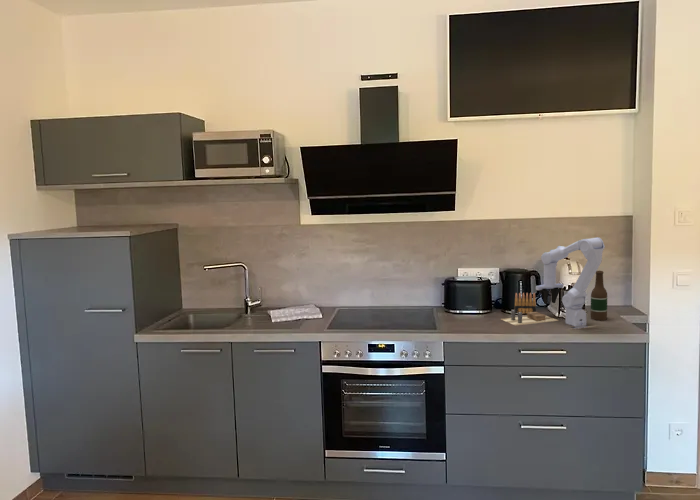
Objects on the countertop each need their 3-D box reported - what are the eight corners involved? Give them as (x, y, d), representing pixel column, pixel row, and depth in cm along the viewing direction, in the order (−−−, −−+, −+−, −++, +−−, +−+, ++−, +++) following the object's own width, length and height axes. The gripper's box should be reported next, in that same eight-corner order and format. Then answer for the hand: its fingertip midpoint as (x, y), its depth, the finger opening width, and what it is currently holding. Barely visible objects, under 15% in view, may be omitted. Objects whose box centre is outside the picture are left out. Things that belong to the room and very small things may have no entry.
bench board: (559, 322, 286) (559, 320, 286) (515, 327, 279) (515, 325, 279) (542, 316, 299) (542, 314, 299) (500, 321, 293) (500, 319, 293)
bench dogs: (522, 325, 284) (522, 312, 283) (519, 325, 283) (519, 313, 283) (513, 321, 291) (513, 309, 291) (510, 321, 291) (510, 309, 290)
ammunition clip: (535, 315, 303) (535, 292, 302) (536, 315, 301) (536, 292, 300) (514, 314, 305) (514, 292, 304) (514, 315, 303) (514, 292, 302)
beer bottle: (601, 321, 285) (602, 272, 282) (587, 318, 292) (587, 271, 289) (610, 318, 290) (611, 270, 287) (595, 316, 296) (596, 269, 293)
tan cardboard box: (545, 320, 287) (545, 315, 287) (536, 321, 286) (536, 316, 285) (536, 316, 295) (536, 311, 294) (527, 317, 293) (527, 312, 293)
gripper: (557, 273, 295) (557, 300, 297) (532, 276, 291) (532, 302, 293) (566, 275, 289) (566, 303, 290) (540, 278, 285) (540, 305, 286)
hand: (549, 303), depth 291 cm, fingers open, 4 cm apart
